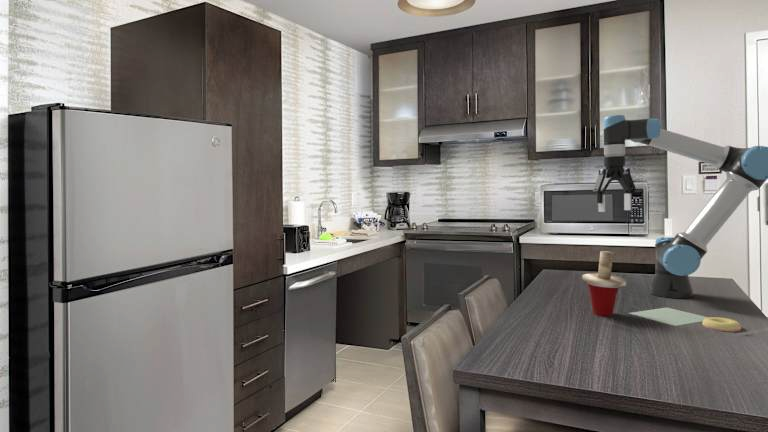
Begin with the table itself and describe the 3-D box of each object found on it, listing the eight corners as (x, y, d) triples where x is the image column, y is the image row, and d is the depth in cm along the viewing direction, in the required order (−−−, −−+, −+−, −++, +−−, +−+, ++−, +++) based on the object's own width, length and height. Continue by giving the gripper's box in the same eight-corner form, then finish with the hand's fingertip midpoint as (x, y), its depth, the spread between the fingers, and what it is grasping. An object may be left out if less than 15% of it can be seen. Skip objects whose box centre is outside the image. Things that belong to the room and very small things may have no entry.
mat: (666, 309, 185) (666, 307, 185) (715, 321, 168) (715, 319, 168) (628, 315, 179) (628, 313, 178) (674, 328, 162) (674, 325, 162)
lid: (604, 276, 187) (606, 248, 186) (635, 285, 174) (638, 255, 173) (573, 277, 182) (575, 249, 180) (603, 287, 169) (606, 256, 168)
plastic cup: (616, 321, 171) (616, 285, 170) (582, 317, 177) (582, 282, 177) (624, 314, 179) (624, 280, 179) (592, 310, 186) (592, 277, 185)
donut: (730, 343, 153) (745, 333, 158) (732, 329, 152) (747, 319, 157) (695, 330, 161) (710, 321, 166) (697, 317, 160) (712, 308, 165)
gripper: (630, 156, 209) (630, 209, 210) (582, 157, 199) (583, 212, 201) (646, 155, 202) (646, 209, 203) (597, 155, 193) (598, 212, 194)
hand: (614, 211), depth 202 cm, fingers open, 13 cm apart
